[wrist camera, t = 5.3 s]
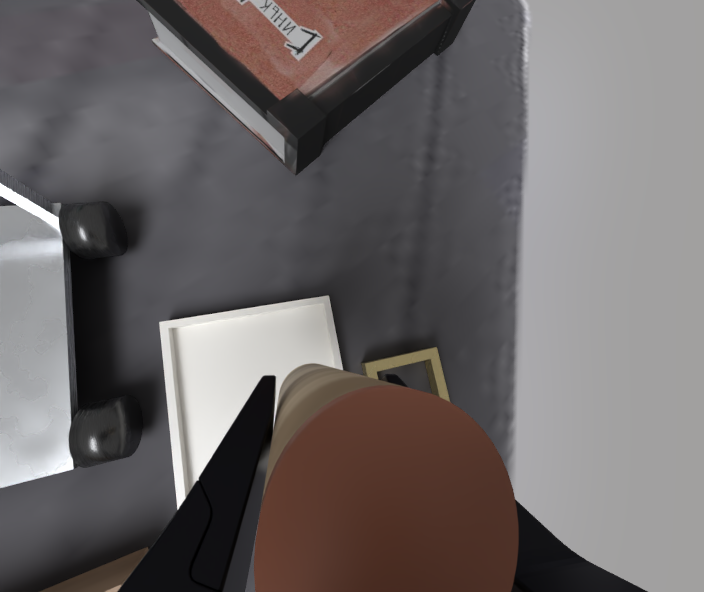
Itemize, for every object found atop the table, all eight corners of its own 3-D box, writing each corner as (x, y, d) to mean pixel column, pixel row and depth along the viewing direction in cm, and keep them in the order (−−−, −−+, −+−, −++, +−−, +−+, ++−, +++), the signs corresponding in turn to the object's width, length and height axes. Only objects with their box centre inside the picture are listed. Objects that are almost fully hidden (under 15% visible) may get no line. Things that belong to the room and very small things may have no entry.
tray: (355, 448, 22) (359, 453, 21) (184, 500, 19) (177, 510, 18) (326, 298, 24) (328, 295, 23) (166, 323, 21) (159, 322, 20)
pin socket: (447, 422, 24) (455, 426, 23) (377, 444, 23) (382, 449, 21) (429, 347, 25) (436, 347, 24) (360, 363, 24) (365, 363, 22)
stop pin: (353, 409, 16) (561, 577, 4) (294, 443, 15) (334, 802, 3) (326, 352, 17) (444, 345, 4) (268, 381, 16) (204, 481, 3)
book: (340, -60, 33) (350, -130, 28) (450, 47, 34) (477, -4, 29) (149, 43, 25) (117, -29, 21) (295, 178, 26) (297, 139, 21)
